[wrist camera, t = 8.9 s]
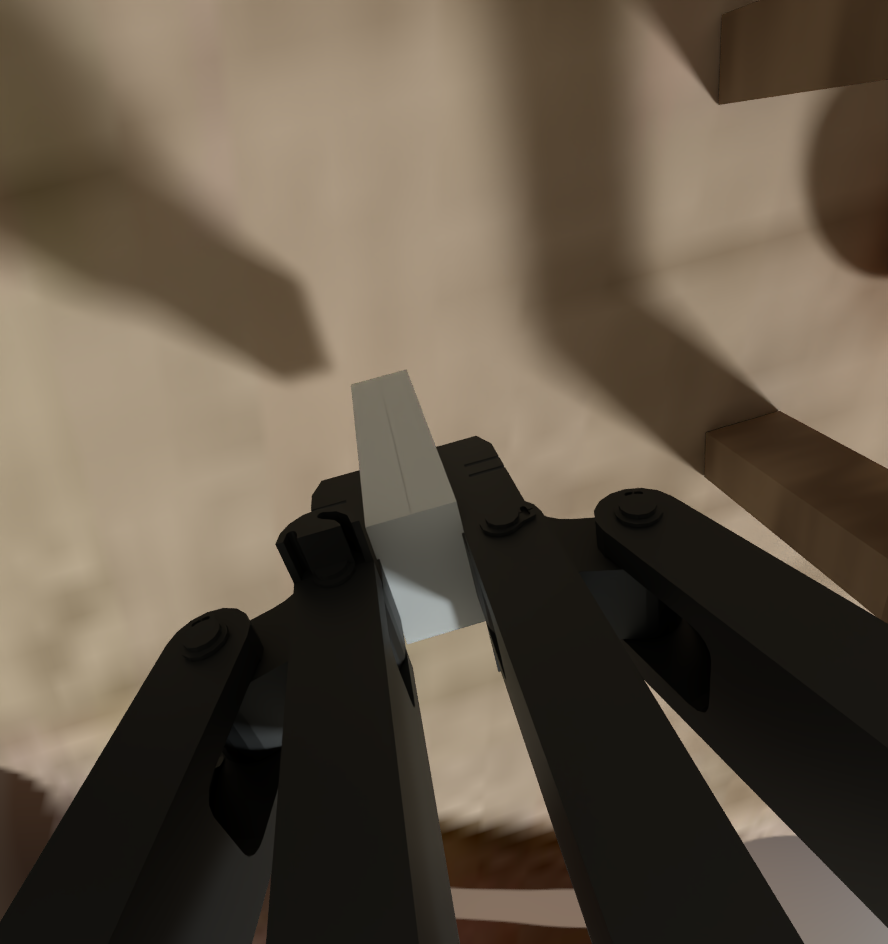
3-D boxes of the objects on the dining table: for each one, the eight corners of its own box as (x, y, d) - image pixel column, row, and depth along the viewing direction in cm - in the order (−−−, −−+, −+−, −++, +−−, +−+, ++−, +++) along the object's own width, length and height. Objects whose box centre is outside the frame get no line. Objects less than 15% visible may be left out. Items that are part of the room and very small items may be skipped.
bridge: (828, -12, 15) (1428, -220, 7) (774, 455, 22) (1028, 618, 14) (721, 15, 14) (1210, -169, 6) (704, 476, 22) (922, 654, 14)
